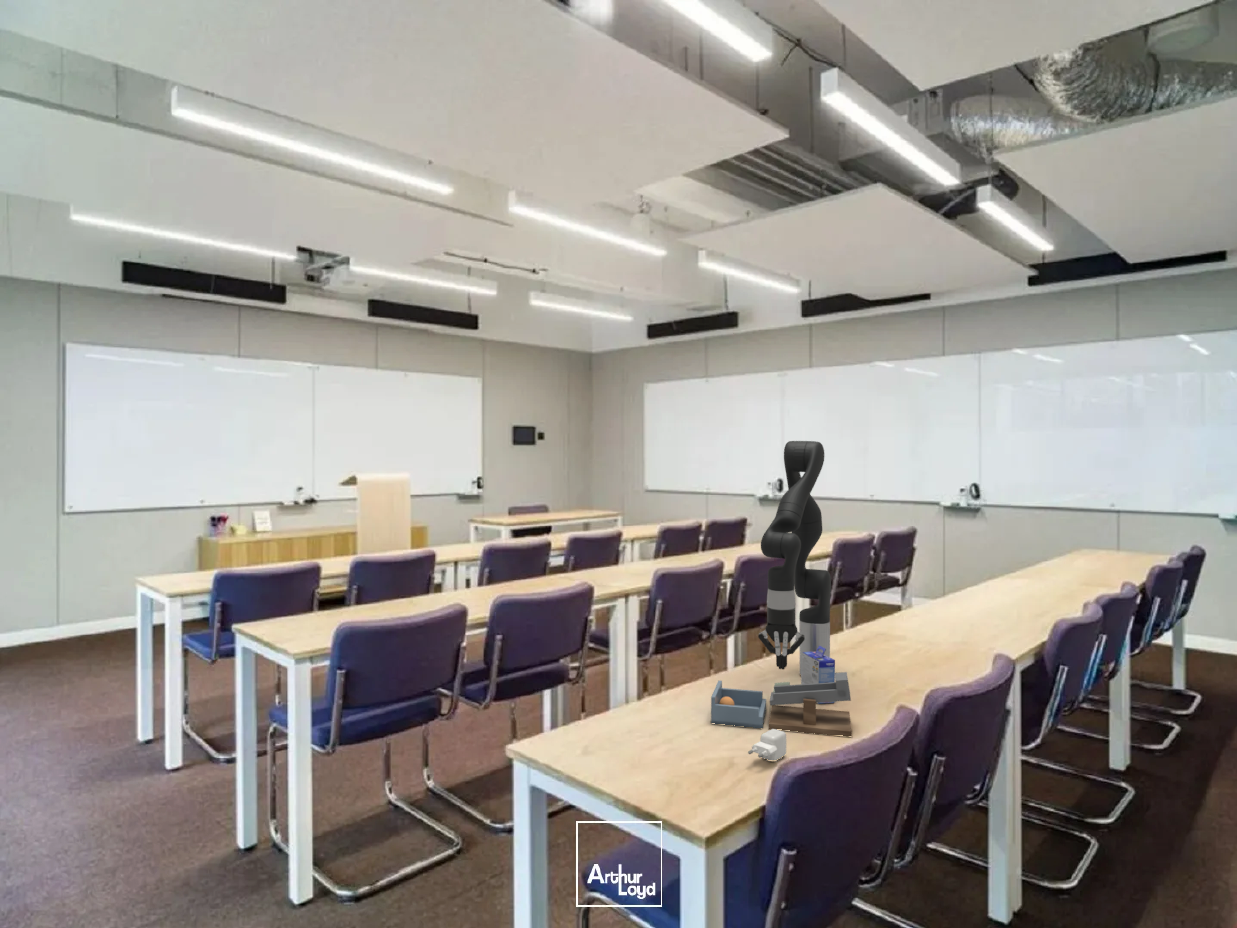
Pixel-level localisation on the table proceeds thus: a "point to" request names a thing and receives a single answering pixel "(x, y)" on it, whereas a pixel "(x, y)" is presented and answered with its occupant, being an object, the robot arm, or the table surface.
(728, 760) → the table surface
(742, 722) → the bin
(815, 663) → the ink cartridge box
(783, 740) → the power adapter
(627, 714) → the table surface
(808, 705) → the lever stand
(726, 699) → the ball
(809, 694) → the lever
